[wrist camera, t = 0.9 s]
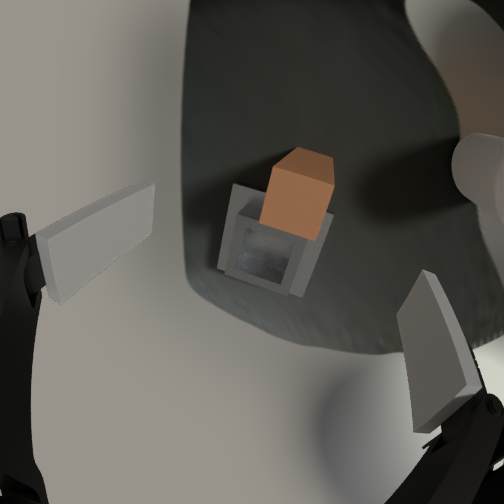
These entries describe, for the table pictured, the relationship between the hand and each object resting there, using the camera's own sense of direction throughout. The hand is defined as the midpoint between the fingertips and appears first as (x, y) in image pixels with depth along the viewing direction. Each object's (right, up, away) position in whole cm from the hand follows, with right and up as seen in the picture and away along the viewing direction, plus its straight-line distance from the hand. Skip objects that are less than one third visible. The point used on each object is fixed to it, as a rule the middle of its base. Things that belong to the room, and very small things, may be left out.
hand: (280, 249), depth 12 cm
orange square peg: (+5, +9, +17) cm, 20 cm away
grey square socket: (+1, +1, +23) cm, 23 cm away
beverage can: (+25, +10, +11) cm, 29 cm away
